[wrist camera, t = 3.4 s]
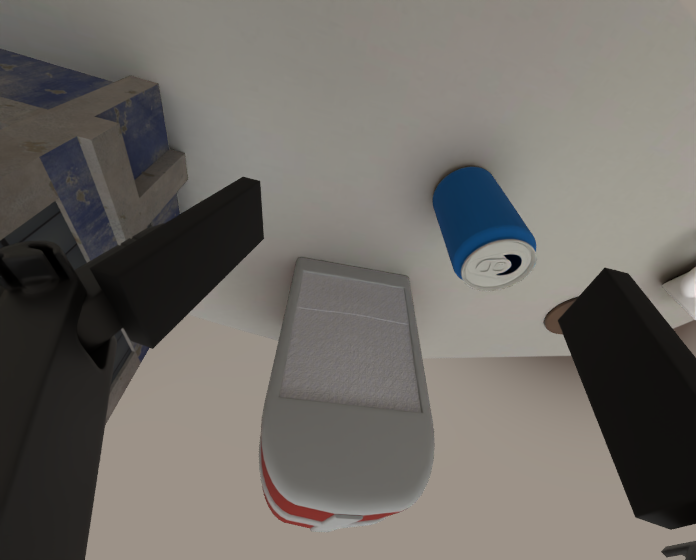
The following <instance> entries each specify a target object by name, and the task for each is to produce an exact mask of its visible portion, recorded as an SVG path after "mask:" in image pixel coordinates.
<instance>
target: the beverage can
mask: <svg viewBox="0 0 696 560" xmlns="http://www.w3.org/2000/svg"><path fill="white" fill-rule="evenodd" d="M433 207H434V210H435V213H436V217H437V220H438V223H439V226H440V229H441V232H442V235H443V238H444V241H445V244H446V248H447V251H448V254H449V257H450V260H451V263H452V266H453V269H454V271H455V273H456V274H457V276H458V277H459V278H460V279H462V280H463V281H464V283H465V284H466V285H467V286H469V287H470V288H472V289H475V290H479V291H496V290H501V289H505V288H508V287H510V286H513V285H515V284H517V283H518V282H520V281H522V280H523V279H524V278H525V277H527V276H528V275H529V274H530V273H531V271H532V270H533V269H534V267H535V265H536V261H537V255H536V241H535V238H534V236H533V235H532V233H531V232H530V230H529V229H528V228H527V226H526V225H525V223H524V222H523V220H522V219H521V217H520V216H519V214H518V213H517V211H516V210H515V208H514V207H513V205H512V204H511V202H510V201H509V199H508V198H507V196H506V195H505V193H504V192H503V191H502V189H501V188H500V186H499V185H498V183H497V182H496V180H495V179H494V177H493V176H492V174H491V173H490V172H488V171H487V170H485V169H483V168H479V167H465V168H461V169H458V170H456V171H454V172H452V173H450V174H449V175H447V176H446V177H445V178H444V179H443V180H442V181H441V182H440V183H439V185H438V186H437V188H436V190H435V192H434V195H433Z"/></svg>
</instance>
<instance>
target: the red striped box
mask: <svg viewBox="0 0 696 560" xmlns="http://www.w3.org/2000/svg"><path fill="white" fill-rule="evenodd" d="M433 459H434V429H433V421H432V415H431V409H430V403H429V397H428V391H427V384H426V378H425V373H424V366H423V360H422V354H421V348H420V342H419V336H418V330H417V324H416V318H415V312H414V305H413V299H412V293H411V287H410V281H409V277H408V276H405V275H399V274H393V273H388V272H382V271H376V270H371V269H365V268H359V267H354V266H348V265H342V264H337V263H331V262H326V261H320V260H314V259H309V258H303V257H300V258H298V259H297V262H296V266H295V271H294V275H293V279H292V284H291V288H290V293H289V297H288V302H287V306H286V310H285V315H284V319H283V324H282V328H281V333H280V337H279V342H278V346H277V350H276V355H275V359H274V364H273V368H272V373H271V377H270V381H269V386H268V390H267V395H266V399H265V404H264V409H263V415H262V424H261V436H260V445H259V469H260V476H261V482H262V487H263V492H264V496H265V499H266V502H267V504H268V506H269V508H270V510H271V511H272V513H273V514H274V515H275V516H276V517H277V518H278V519H279V520H281V521H283V522H284V523H289V524H294V525H298V526H302V527H307V528H310V530H311V531H315V532H316V531H317V532H330V531H332V530H335V529H338V528H346V527H355V526H364V525H372V524H375V523H378V522H380V521H382V520H384V519H385V518H386V517H388V516H389V515H393V514H396V513H399V512H401V511H403V510H406V509H408V508H409V507H410V506H411V505H413V504H414V503H415V502H416V501H417V500H418V498H419V497H420V496H421V494H422V493H423V491H424V489H425V487H426V485H427V483H428V480H429V477H430V474H431V469H432V464H433Z"/></svg>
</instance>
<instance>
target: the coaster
mask: <svg viewBox="0 0 696 560" xmlns="http://www.w3.org/2000/svg"><path fill="white" fill-rule="evenodd" d="M577 298H578V297H577ZM577 298H574V299H571V300H568V301H566V302H564V303H562V304H560V305H558V306H557V307H555V308H554V309H553V310H551V311H550V312H549V313H548V315H547V316H546V318H545V321H544V323H545V326H546V328H547V329H548V330H549V331H551V332H553V333H556V334H563V333H562V330H561V328H560V325H559V323H558V319H559V318H560V317H561V316H562V315H563V314H564V313H565V312H566V310H567V309H568V308H569V307H570V306H571V305H572V304H573V303H574V301H575V300H576V299H577Z"/></svg>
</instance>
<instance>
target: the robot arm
mask: <svg viewBox="0 0 696 560" xmlns="http://www.w3.org/2000/svg"><path fill="white" fill-rule="evenodd" d="M263 239H264V233H263V218H262V203H261V187H260V181H258V180H254V179H250V178H246V177H242V178H240V179H238V180H237V181H235V182H233V183H232V184H230V185H228V186H227V187H225V188H223V189H222V190H220V191H218V192H217V193H215V194H213V195H212V196H210V197H208V198H207V199H205V200H203V201H202V202H200V203H198V204H196V205H195V206H193V207H191V208H190V209H188V210H186V211H185V212H183V213H181V214H180V215H178V216H176V217H175V218H173V219H171V220H170V221H168V222H166V223H162V224H159V225H156V226H153V227H150V228H146V229H145V230H143V231H141V232H139V233H138V234H136V235H134V236H132V239H130V238H129V239H127V240H125V241H124V242H122V243H121V245H117V246H115V247H113V248H112V249H110V250H108V251H106V252H105V253H103V254H101V255H99V256H98V257H96V258H94V259H93V260H91V261H89V262H87V263H86V264H84V265H82V266H80V267H79V268H77V269H75V270H74V269H73V267H72V265H71V264H70V262H69V261H68V259H67V257H66V256H65V254H64V252H63V251H62V249H61V247H60V246H58V245H57V244H56V243H54V242H49V241H26V242H20V243H15V244H12V245H9V246H6V247H2V248H0V560H85V555H86V548H87V542H88V535H89V528H90V522H91V515H92V508H93V502H94V494H95V488H96V482H97V475H98V468H99V462H100V455H101V448H102V441H103V435H104V428H105V422H106V415H107V408H108V402H109V395H110V388H111V381H112V375H113V368H114V361H115V355H116V348H117V341H116V338H115V336H114V335H115V334H116V333H118V332H119V331H120V330H121V329H122V328H123V329H124V330H125V332H126V334H127V336H128V337H129V339H130V341H132V342H135V343H138V344H141V345H144V346H147V347H149V348H152V349H153V348H154V347H155V346H156V345H157V344H158V343H159V342H160V341H161V340H162V339H163V338H164V337H165V336H166V335H167V334H168V333H169V332H170V331H171V330H172V329H173V328H174V327H175V326H176V325H177V324H178V323H179V322H180V321H181V320H182V319H183V318H184V317H185V316H186V315H187V314H188V313H189V312H190V311H191V310H192V309H193V308H194V307H195V306H196V305H197V304H198V303H199V302H200V301H201V300H202V299H203V298H204V297H205V296H207V295H208V294H209V293H210V292H211V291H212V290H213V289H214V288H215V287H216V286H217V285H218V284H219V283H220V282H221V281H222V280H223V279H224V278H225V277H226V276H227V275H228V274H229V273H230V272H231V271H232V270H233V269H234V268H235V267H236V266H237V265H238V264H239V263H240V262H241V261H242V260H243V259H244V258H245V257H246V256H247V255H248V254H249V253H250V252H251V251H252V250H253V249H254V248H255V247H256V246H257V245H258V244H259V243H260V242H261V241H262V240H263ZM558 323H559V325H560V328H561V330H562V333H563V335H564V338H565V340H566V343H567V345H568V348H569V350H570V353H571V355H572V358H573V361H574V363H575V366H576V368H577V371H578V373H579V376H580V378H581V381H582V383H583V386H584V388H585V391H586V393H587V395H588V398H589V401H590V404H591V406H592V408H593V411H594V414H595V416H596V419H597V421H598V424H599V426H600V429H601V431H602V434H603V436H604V439H605V441H606V444H607V447H608V449H609V451H610V454H611V457H612V459H613V462H614V464H615V467H616V469H617V472H618V474H619V477H620V479H621V482H622V485H623V487H624V490H625V492H626V495H627V497H628V500H629V502H630V505H631V507H632V510H633V512H634V515H635V517H636V518H639V519H642V520H645V521H648V522H650V523H653V524H656V525H659V526H662V527H665V528H668V529H676V528H680V527H684V526H688V525H692V524H696V358H695V356H694V355H693V354H692V353H691V351H690V350H689V349H688V348H687V346H686V345H685V344H684V343H683V341H682V340H681V339H680V338H679V336H678V335H677V334H676V333H675V331H674V330H673V329H672V328H671V326H670V325H669V324H668V323H667V321H666V320H665V319H664V318H663V316H662V315H661V314H660V313H659V311H658V310H657V309H656V308H655V306H654V305H653V304H652V303H651V301H650V300H649V299H648V298H647V296H646V295H645V294H644V293H643V291H642V290H641V289H640V287H639V286H638V285H637V284H636V282H635V281H634V280H633V279H632V277H631V276H630V275H629V274H628V273H624V272H620V271H616V270H612V269H608V268H604V269H603V270H602V271H601V272H600V274H599V275H598V276H597V277H596V278H595V279H594V280H593V281H592V282H591V284H590V285H589V286H588V287H587V288H586V289H585V290H584V291H583V293H582V294H581V295H580V296H579V297H578V298H577V299H576V300H575V301H574V303H573V304H572V305H571V306H570V307H569V308H568V309H567V310H566V312H565V313H564V314H563V315H562V316H561V317H560V318H559V319H558ZM661 552H662V553H663V554H664V555H665V556H666V557H671V556H677V555H683V556H685V557H686V559H685V560H696V541H693V542H688V543H683V544H678V545H672V546H667V547H665V548H664V549H663V550H662V551H661Z"/></svg>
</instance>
